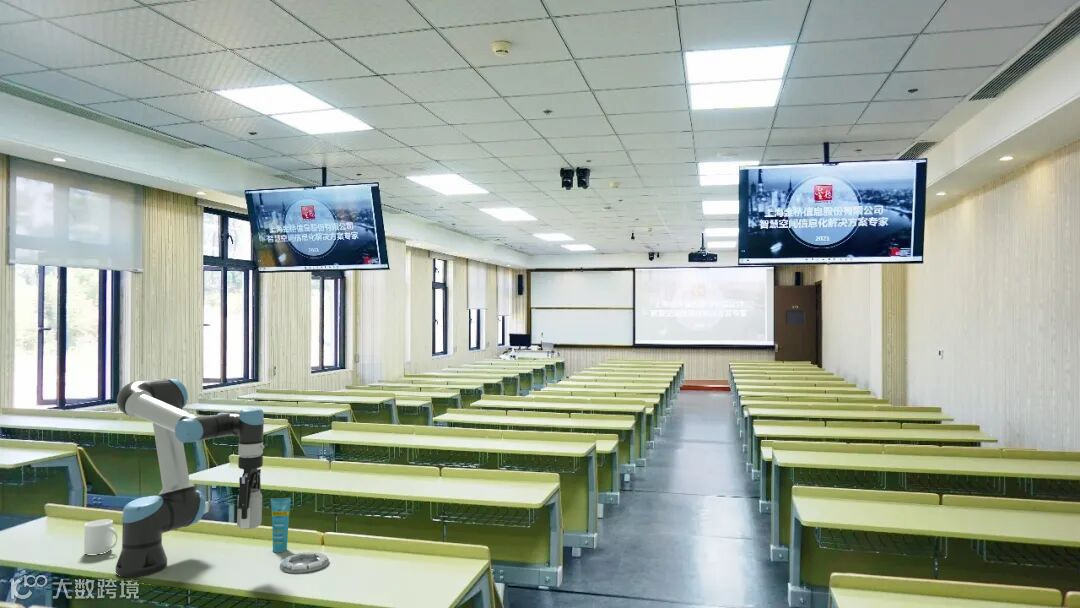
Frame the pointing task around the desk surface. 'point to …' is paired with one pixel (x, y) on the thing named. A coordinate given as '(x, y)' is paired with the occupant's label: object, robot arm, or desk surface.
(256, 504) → the can
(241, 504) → the robot arm
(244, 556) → the desk surface
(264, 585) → the desk surface
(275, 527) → the tube
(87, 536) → the mug
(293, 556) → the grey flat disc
